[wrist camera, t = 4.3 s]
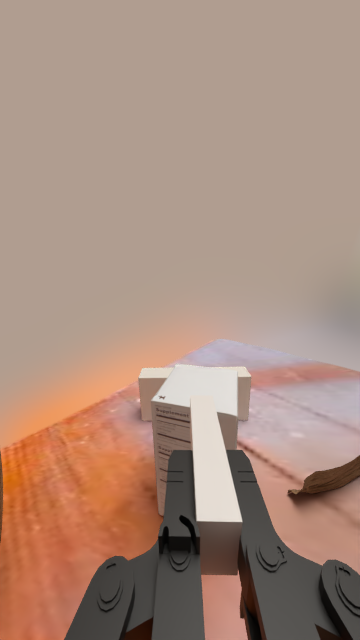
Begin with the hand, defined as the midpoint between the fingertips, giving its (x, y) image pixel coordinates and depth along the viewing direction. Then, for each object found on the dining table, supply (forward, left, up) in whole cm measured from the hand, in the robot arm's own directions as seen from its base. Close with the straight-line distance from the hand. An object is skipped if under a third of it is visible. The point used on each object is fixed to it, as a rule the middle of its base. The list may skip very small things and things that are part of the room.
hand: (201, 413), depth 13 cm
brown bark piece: (+10, -20, -21) cm, 31 cm away
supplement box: (+10, -1, -21) cm, 23 cm away
